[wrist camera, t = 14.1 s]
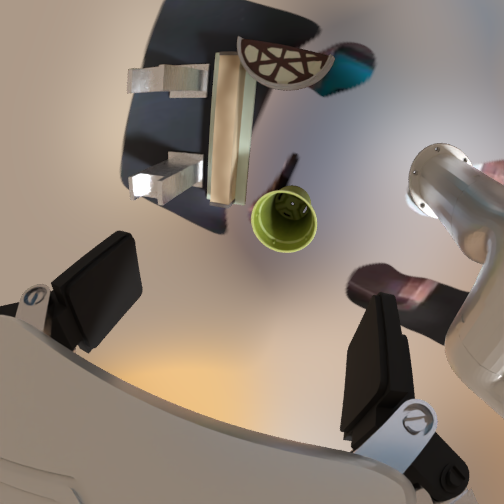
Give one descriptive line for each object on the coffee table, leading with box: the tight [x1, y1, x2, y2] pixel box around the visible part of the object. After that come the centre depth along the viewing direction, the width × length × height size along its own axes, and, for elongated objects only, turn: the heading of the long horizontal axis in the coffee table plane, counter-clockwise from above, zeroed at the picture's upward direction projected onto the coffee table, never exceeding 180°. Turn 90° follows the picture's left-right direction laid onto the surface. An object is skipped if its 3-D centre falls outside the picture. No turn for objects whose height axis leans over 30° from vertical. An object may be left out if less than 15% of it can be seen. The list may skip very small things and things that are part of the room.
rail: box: [210, 52, 246, 208], centre depth 40 cm, size 3×25×3 cm, turn 175°
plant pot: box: [251, 185, 317, 253], centre depth 42 cm, size 9×9×9 cm
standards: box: [127, 64, 210, 205], centre depth 38 cm, size 7×22×13 cm, turn 175°
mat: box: [207, 53, 257, 205], centre depth 42 cm, size 7×26×1 cm, turn 175°
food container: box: [237, 36, 335, 90], centre depth 31 cm, size 12×6×10 cm, turn 78°
